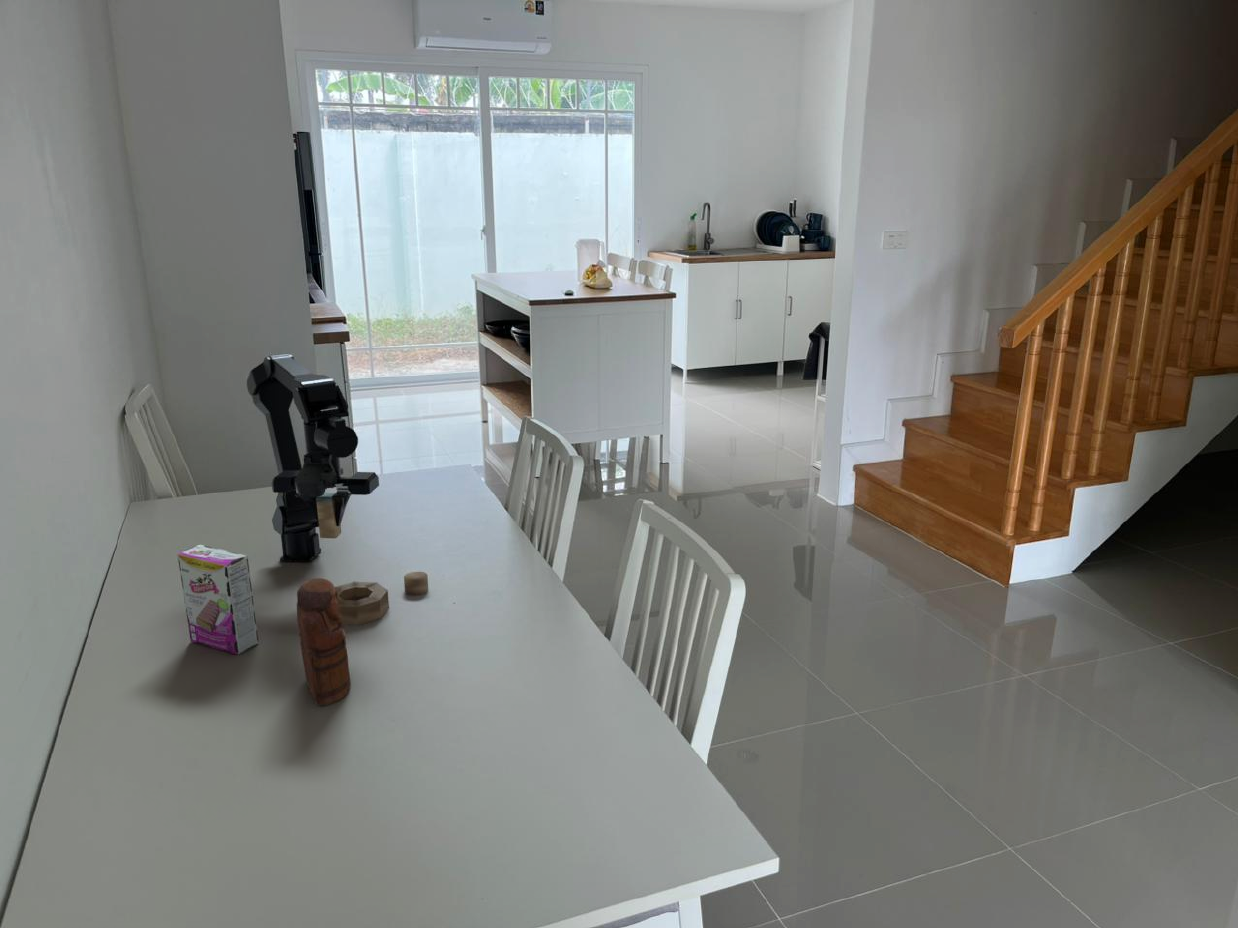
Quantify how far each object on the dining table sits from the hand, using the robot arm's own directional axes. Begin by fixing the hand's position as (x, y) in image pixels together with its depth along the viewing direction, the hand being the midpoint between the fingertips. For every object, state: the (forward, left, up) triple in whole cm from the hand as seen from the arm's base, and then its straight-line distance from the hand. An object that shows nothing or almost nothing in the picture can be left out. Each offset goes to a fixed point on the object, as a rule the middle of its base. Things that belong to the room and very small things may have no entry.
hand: (330, 525), depth 179 cm
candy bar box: (-10, -25, -13) cm, 29 cm away
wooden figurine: (+13, -37, -13) cm, 41 cm away
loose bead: (+16, -1, -12) cm, 20 cm away
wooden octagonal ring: (+8, -11, -12) cm, 18 cm away
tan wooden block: (0, 0, -2) cm, 2 cm away
